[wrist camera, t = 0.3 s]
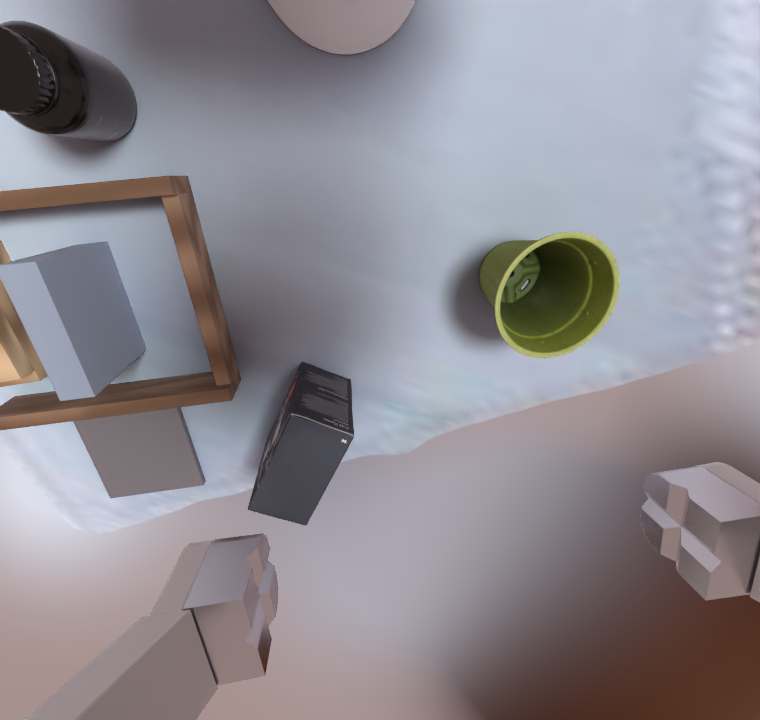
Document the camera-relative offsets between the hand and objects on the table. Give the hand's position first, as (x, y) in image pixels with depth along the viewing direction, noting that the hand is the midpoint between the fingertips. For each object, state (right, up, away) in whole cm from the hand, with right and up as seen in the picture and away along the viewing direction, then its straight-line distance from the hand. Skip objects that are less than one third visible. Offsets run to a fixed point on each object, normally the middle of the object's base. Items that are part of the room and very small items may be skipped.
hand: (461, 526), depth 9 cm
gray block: (-30, +10, +35) cm, 47 cm away
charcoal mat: (-32, -8, +43) cm, 54 cm away
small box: (-11, -3, +43) cm, 45 cm away
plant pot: (+13, +14, +39) cm, 43 cm away
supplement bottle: (-27, +27, +28) cm, 47 cm away
